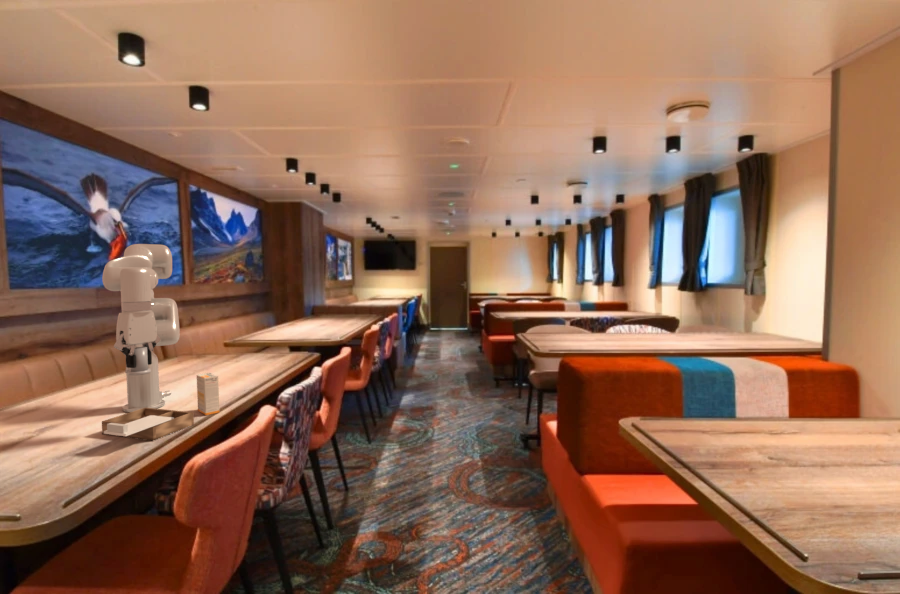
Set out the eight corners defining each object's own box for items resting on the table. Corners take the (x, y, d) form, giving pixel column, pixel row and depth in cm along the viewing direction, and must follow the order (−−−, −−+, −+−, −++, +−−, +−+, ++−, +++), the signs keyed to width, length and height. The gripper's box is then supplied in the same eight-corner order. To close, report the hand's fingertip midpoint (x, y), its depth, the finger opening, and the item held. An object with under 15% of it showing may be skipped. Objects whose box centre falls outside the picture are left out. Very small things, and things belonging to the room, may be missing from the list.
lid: (150, 417, 133) (150, 408, 133) (171, 419, 131) (170, 410, 131) (103, 433, 120) (103, 424, 120) (125, 436, 118) (125, 426, 118)
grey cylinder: (137, 370, 139) (136, 346, 138) (155, 371, 137) (153, 346, 136) (119, 374, 133) (118, 348, 133) (137, 375, 131) (136, 349, 131)
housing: (145, 419, 145) (145, 407, 144) (193, 424, 139) (193, 412, 139) (102, 434, 131) (101, 421, 131) (153, 440, 126) (153, 427, 126)
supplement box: (220, 412, 151) (219, 375, 151) (205, 415, 148) (203, 378, 147) (212, 407, 157) (210, 372, 156) (197, 410, 153) (195, 374, 153)
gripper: (152, 305, 143) (154, 360, 144) (99, 309, 127) (102, 371, 128) (170, 305, 141) (172, 361, 142) (118, 309, 125) (121, 372, 126)
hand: (139, 365), depth 135 cm, fingers closed on grey cylinder, 4 cm apart
